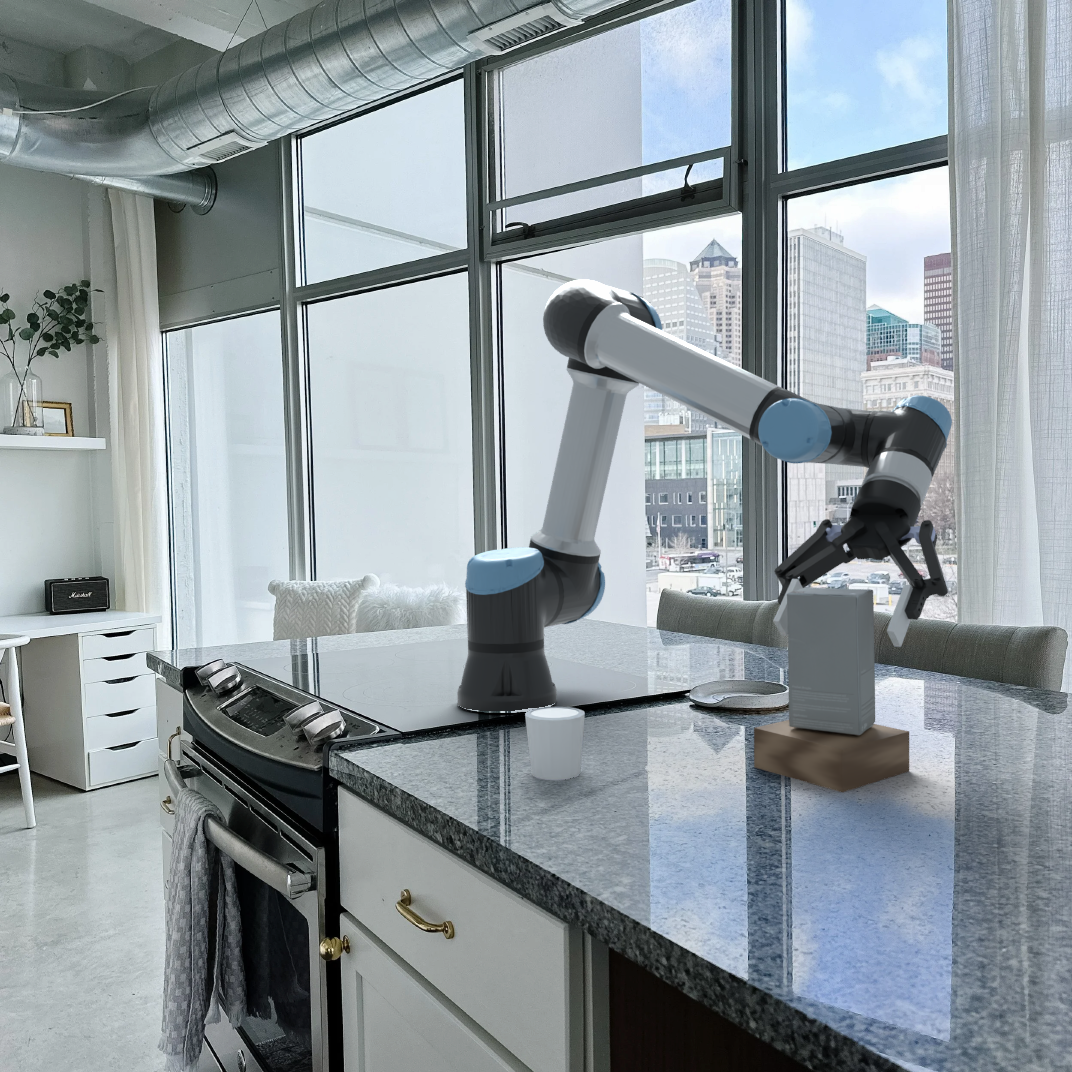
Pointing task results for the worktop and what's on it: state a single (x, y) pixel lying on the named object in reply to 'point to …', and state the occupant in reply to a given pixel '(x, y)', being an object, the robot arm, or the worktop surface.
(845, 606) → the skincare box
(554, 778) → the white tapered cup
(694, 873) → the worktop surface
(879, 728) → the walnut block
